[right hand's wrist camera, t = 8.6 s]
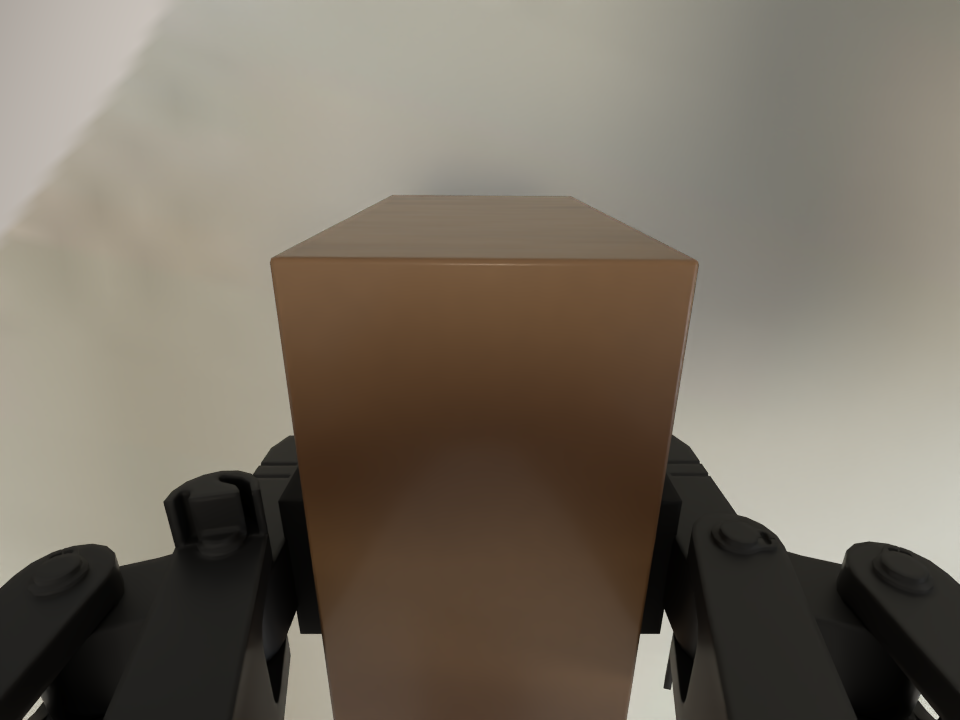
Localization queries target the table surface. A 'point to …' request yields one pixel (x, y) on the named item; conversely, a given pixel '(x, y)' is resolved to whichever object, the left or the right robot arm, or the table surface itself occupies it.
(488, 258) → the beam
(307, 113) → the table surface
